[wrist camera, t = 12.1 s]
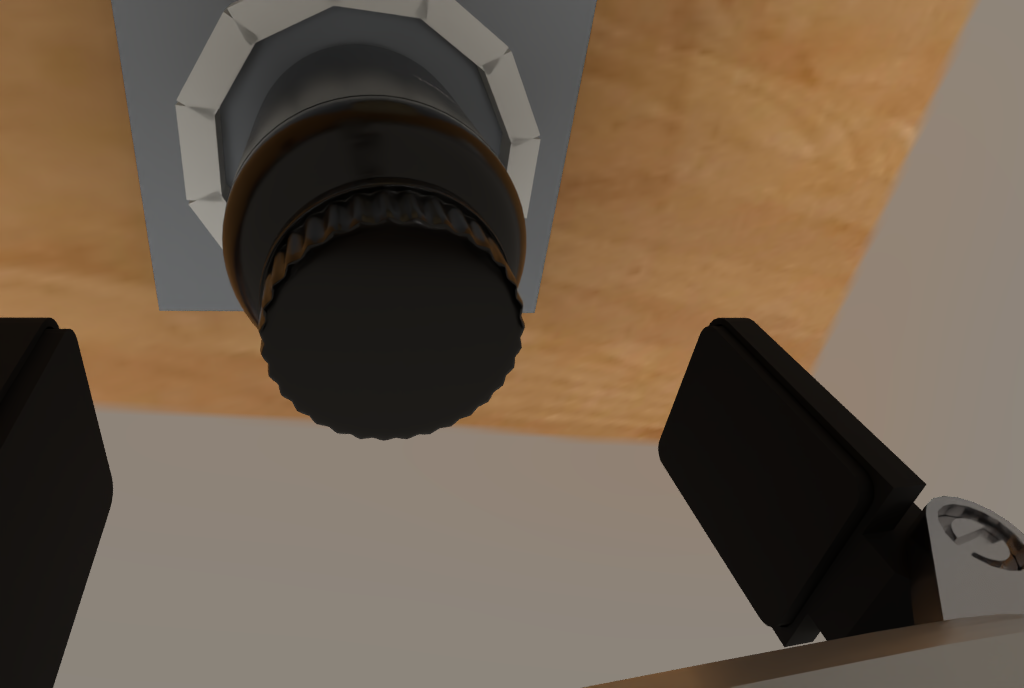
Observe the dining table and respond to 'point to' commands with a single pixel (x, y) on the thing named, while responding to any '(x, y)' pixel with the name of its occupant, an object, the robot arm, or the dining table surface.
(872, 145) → the dining table surface
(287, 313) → the supplement bottle
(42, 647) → the robot arm
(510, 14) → the board
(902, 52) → the dining table surface
